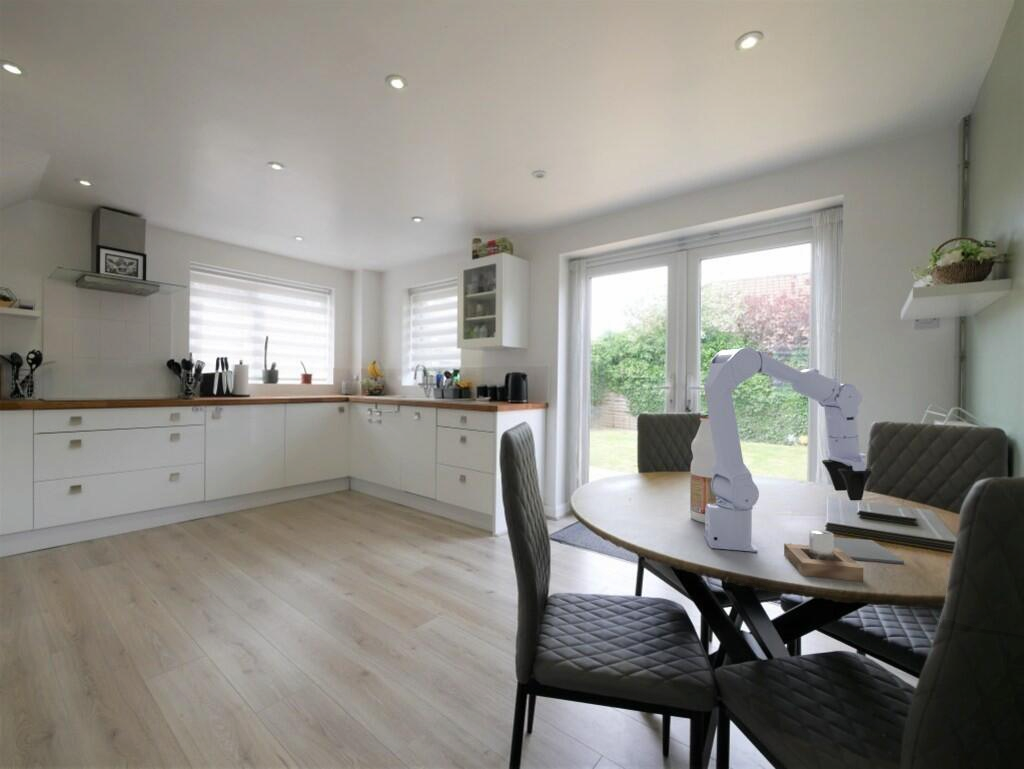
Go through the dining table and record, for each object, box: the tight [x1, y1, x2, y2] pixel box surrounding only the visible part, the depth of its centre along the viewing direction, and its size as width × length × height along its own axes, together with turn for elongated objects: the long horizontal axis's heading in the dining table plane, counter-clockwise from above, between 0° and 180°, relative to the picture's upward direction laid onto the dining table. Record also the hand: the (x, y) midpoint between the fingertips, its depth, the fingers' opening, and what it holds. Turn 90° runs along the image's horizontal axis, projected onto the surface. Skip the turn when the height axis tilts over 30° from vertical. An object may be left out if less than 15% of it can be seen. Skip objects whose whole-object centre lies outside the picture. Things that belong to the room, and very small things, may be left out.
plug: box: [808, 528, 835, 561], centre depth 89 cm, size 4×4×7 cm
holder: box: [783, 543, 864, 582], centre depth 89 cm, size 10×10×2 cm
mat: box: [834, 536, 905, 565], centre depth 98 cm, size 12×12×1 cm
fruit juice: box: [689, 413, 717, 524], centre depth 119 cm, size 9×9×28 cm
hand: (848, 495), depth 102 cm, fingers open, 7 cm apart
